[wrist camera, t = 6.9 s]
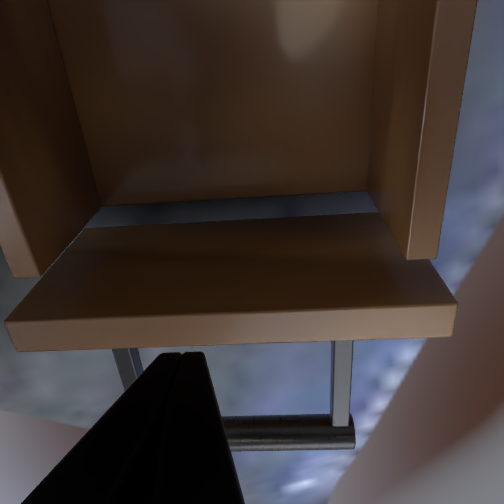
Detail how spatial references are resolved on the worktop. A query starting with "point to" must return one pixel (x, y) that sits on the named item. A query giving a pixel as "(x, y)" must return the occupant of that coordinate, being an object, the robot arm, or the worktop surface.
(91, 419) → the worktop surface
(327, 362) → the worktop surface
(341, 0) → the drawer
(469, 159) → the worktop surface
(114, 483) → the robot arm
